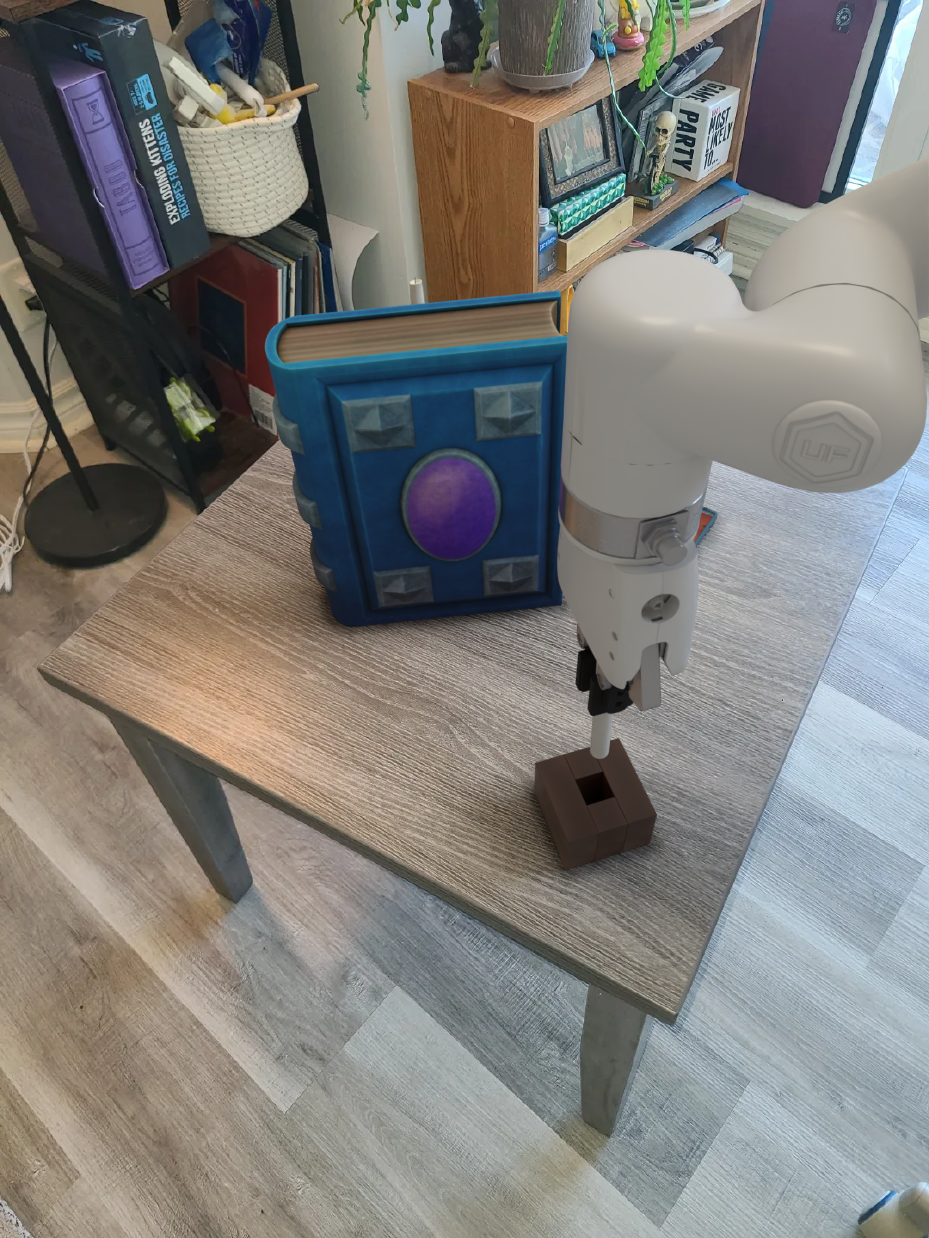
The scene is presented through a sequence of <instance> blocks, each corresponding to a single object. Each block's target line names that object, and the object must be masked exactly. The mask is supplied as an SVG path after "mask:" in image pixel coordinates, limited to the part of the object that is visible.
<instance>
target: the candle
mask: <svg viewBox="0 0 929 1238" xmlns="http://www.w3.org/2000/svg"><path fill="white" fill-rule="evenodd" d="M408 286H409V298H410V305H413V304H423V303H426V302H425V293H424V286H423V280H422V279H420V278H416V276H414V279H412V280H411V281H409V285H408Z"/></svg>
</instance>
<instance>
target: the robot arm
mask: <svg viewBox="0 0 929 1238" xmlns="http://www.w3.org/2000/svg"><path fill="white" fill-rule="evenodd" d="M740 293H741V292H740V291H739V289H738V288H737V286H736V284H735V282H734V281H733V279H732V278H731V276H729V275H728V274H727V273H726V271H724V270H723V269H722V268H720V267H718V266H717V265H715V264H714V263H713V262H711V261H709V260H707V259H705V258H703V257H700V256H698V255H695V254H692V253H689V252H683V251H677V250H672V249H657V248H654V249H651V248H650V249H639V250H632V251H628V252H623V253H619V254H616V255H613V256H612V257H610V258H607V259H605V260H603V261H601V262H599V263H598V264H596V265H595V266H594V267H593V268H591V269H590V270H589V271H587V273H586V274H585V275H584V276H583V277H582V279H581V280H580V282H579V283H578V284H577V286H576V288H575V290H574V292H573V295H572V298H571V301H570V304H569V312H568V321H567V333H568V336H567V356H566V377H565V398H564V420H563V437H562V454H561V474H560V493H559V511H558V517H559V523H560V532H559V542H558V557H557V570H558V580H559V584H560V587H561V590H562V596H563V597H564V599H565V601H566V604H567V605H568V607H569V609H570V611H571V613H572V615H573V617H574V619H575V621H576V641H577V643H578V644H577V645H578V646H579V648H580V650H579V651H577V660H576V661H577V662H576V672H575V686H576V689H577V691H579V692H581V693H586V692H588V700H587V708H586V709H587V711H588V714H589V715H590V716H591V717H593V716H597V715H600V714H604V713H608V714H613V715H615V714H617V713H618V714H619V713H621V712H623V711H625V710H626V709H627V708H628V707H631V706H632V705H635V707H636V708H637V710H639V711H640V712H645V711H648V710H652V709H655V708H658V707H661V706H662V688H661V687H662V685H661V683H662V682H661V660H662V662H663V663H664V665H665V667H666V669H667V671H668V672H669V674H670V675H671V677H674V676H676V675H679V674H682V673H684V671H685V670H686V668H687V666H688V662H689V659H690V655H691V649H692V644H693V638H694V634H695V633H694V632H695V626H696V619H697V611H698V601H699V600H698V599H699V587H700V586H699V583H700V581H699V578H700V576H699V575H700V573H699V571H700V570H699V552H698V551H699V550H698V548H697V547H696V545H695V543H694V541H693V539H694V538H695V536H696V533H697V530H698V527H699V523H700V518H701V513H702V509H703V507H704V504H705V498H706V495H707V489H708V485H709V481H710V476H711V475H710V474H711V470H712V465H713V462H715V463H718V464H720V465H724V466H726V467H729V468H732V469H735V470H737V471H740V472H743V473H746V474H748V475H752V476H754V477H757V478H760V479H762V480H765V481H768V482H771V483H775V484H776V485H777V484H778V485H781V486H784V487H788V488H791V489H797V490H800V491H805V492H811V493H819V494H821V493H822V494H844V493H845V494H846V493H853V492H857V491H861V490H865V489H868V488H871V487H874V486H876V485H879V484H881V483H883V482H884V481H886V480H888V479H889V478H890V477H892V476H894V475H895V474H897V473H898V472H900V470H901V469H902V468H903V467H904V466H905V465H906V464H907V463H908V462H909V461H910V459H911V458H912V457H913V455H914V454H915V452H916V450H917V448H918V447H919V445H920V443H921V440H922V437H923V434H924V431H925V428H926V421H927V413H928V412H927V409H928V395H927V385H926V375H925V368H924V360H923V351H922V350H923V349H922V339H921V331H920V324H919V320H922V319H924V318H927V317H929V155H927V156H925V157H922V158H921V159H918V160H916V161H914V162H912V163H909V164H906V165H905V166H903V167H900V168H898V169H896V170H894V171H892V172H890V173H887V174H886V175H884V176H881V177H879V178H877V179H875V180H872V181H871V182H868V183H866V184H864V185H862V186H860V187H858V188H856V189H853V190H851V191H849V192H847V193H845V194H843V195H841V196H839V197H837V198H835V199H833V200H831V201H829V202H827V203H825V204H823V205H822V206H820V207H818V208H817V209H815V210H813V211H811V212H810V213H808V214H806V215H805V216H802V218H800V219H799V220H797V221H796V222H794V224H792V225H791V226H789V227H788V228H787V229H785V230H784V231H783V232H782V233H780V234H779V235H778V236H777V237H776V238H775V239H773V241H772V242H771V244H769V245H768V247H767V248H766V249H765V250H764V251H763V252H762V254H761V256H760V257H759V259H758V260H757V262H756V264H755V265H754V267H753V269H752V270H751V272H750V275H749V278H748V281H747V283H746V287H745V291H744V298H743V299H742V297H741V294H740ZM660 658H661V659H660ZM597 662H598V670H597V674H596V665H597Z"/></svg>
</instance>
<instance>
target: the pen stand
mask: <svg viewBox="0 0 929 1238" xmlns="http://www.w3.org/2000/svg"><path fill="white" fill-rule="evenodd" d="M533 789H534V792H533V794H534V796H535V798H536V801H537V804H538V805H539V808H540V810H541V813H542V815H543V817H544V820H545V822H546V825H547V828H548V830H549V833H550V835H551V838H552V840H553V842H554V845H555V848H556V850H557V853H558V854H559V857H560V860H561V862H562V865H563V867H564V869H565V871H568V870H571V869H575V868H578V867H580V866H583V865H588V864H591V863H594V862H595V861H599V860H602V859H605V858H609V857H612V856H614V855H618V854H621V853H624V852H627V851H631V850H633V849H637V848H639V847H642V846H643V847H644V846H646V845H649V844H651V842H652V837H653V835H654V834H653V833H654V830H655V825H656V821H657V817H658V813H657V811H656V809H655V807H654V805H653V803H652V801H651V799H650V797H649V795H648V793H647V791H646V789H645V787H644V785H643V783H642V781H641V779H640V777H639V775H638V773H637V770H636V769H635V767H634V765H633V763H632V761H631V759H630V757H629V755H628V753H627V751H626V749H625V747H624V744H623V743H622V741H621V739H620V737H617V738H615V739H610V745H609V753H608V755H607V756H606V757H605V758H602V759H598V758H595V757H593V756H592V755H591V753H590V746H588V747H584V748H581V749H578V750H574V751H571V752H567V753H564V754H560V755H557V756H553V757H550V758H547V759H543V760H539V761H537V762H534V788H533Z"/></svg>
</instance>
